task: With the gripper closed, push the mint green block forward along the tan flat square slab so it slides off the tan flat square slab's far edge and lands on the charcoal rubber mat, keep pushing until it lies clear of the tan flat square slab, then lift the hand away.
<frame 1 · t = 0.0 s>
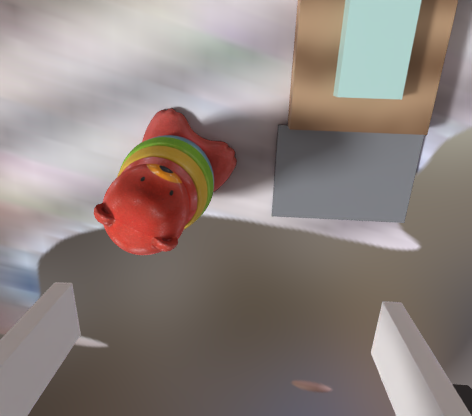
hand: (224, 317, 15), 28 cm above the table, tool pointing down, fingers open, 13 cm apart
mint green block: (371, 47, 33), point 3 cm above the table, touching tan flat square slab
tan flat square slab: (360, 59, 36), on the table
stacking bear: (182, 163, 42), on the table
mat: (343, 175, 41), on the table
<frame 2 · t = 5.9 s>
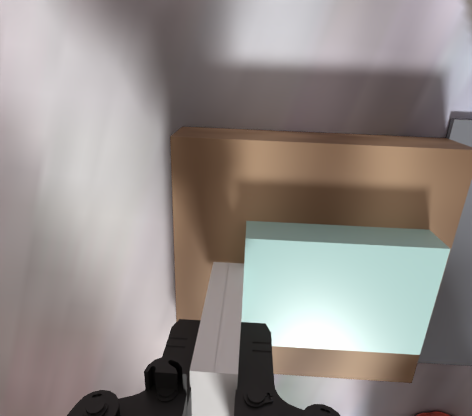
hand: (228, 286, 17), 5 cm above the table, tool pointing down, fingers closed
mint green block: (329, 276, 19), point 3 cm above the table, touching tan flat square slab
tan flat square slab: (299, 248, 21), on the table
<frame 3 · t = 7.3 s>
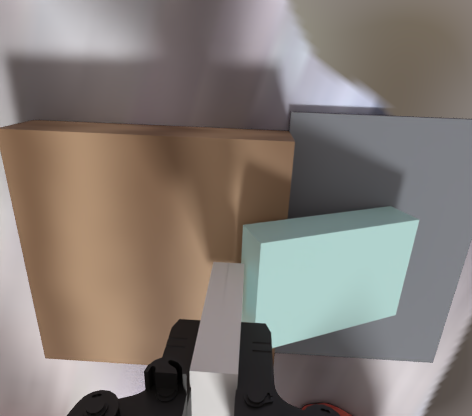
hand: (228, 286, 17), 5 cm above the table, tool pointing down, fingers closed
mint green block: (316, 264, 19), point 2 cm above the table, tilted 24°, touching tan flat square slab, gripper, mat
tan flat square slab: (164, 240, 22), on the table
mat: (369, 251, 21), on the table
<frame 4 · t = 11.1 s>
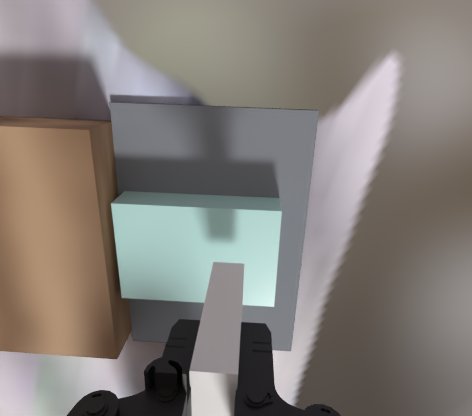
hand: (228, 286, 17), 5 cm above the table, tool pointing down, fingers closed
mint green block: (201, 241, 21), resting on mat
tan flat square slab: (15, 229, 22), on the table
mat: (212, 240, 22), on the table
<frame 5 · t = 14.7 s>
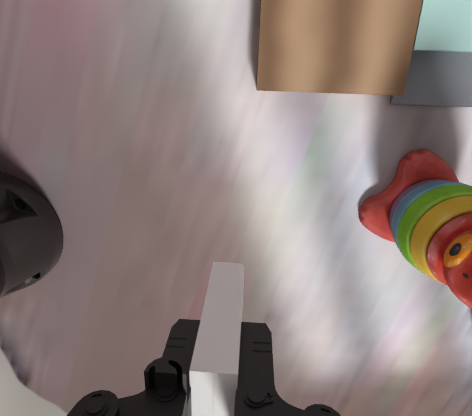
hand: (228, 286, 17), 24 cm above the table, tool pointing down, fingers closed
mint green block: (460, 17, 33), resting on mat
tan flat square slab: (332, 14, 34), on the table
stacking bear: (414, 203, 41), on the table
mat: (464, 18, 33), on the table
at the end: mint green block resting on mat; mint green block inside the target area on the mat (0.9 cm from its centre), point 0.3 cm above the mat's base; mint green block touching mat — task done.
